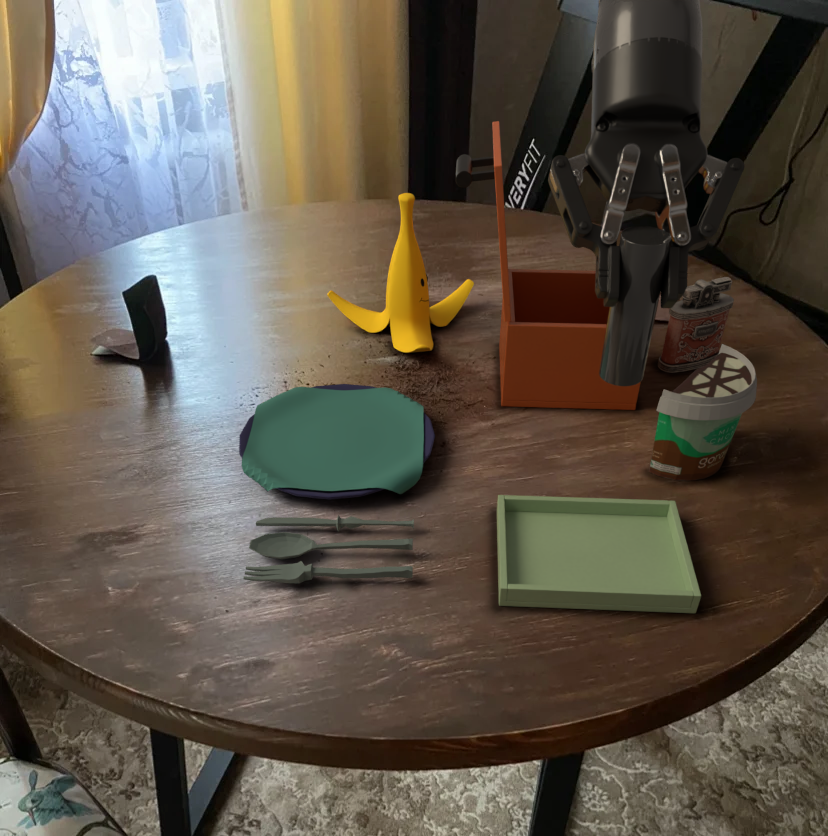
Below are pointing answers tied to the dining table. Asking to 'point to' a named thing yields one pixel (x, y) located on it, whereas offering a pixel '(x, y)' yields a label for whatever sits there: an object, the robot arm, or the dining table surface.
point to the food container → (702, 417)
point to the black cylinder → (634, 305)
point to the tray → (594, 554)
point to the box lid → (467, 177)
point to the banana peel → (406, 294)
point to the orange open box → (556, 343)
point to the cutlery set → (333, 466)
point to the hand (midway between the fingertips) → (640, 302)
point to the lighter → (696, 326)
